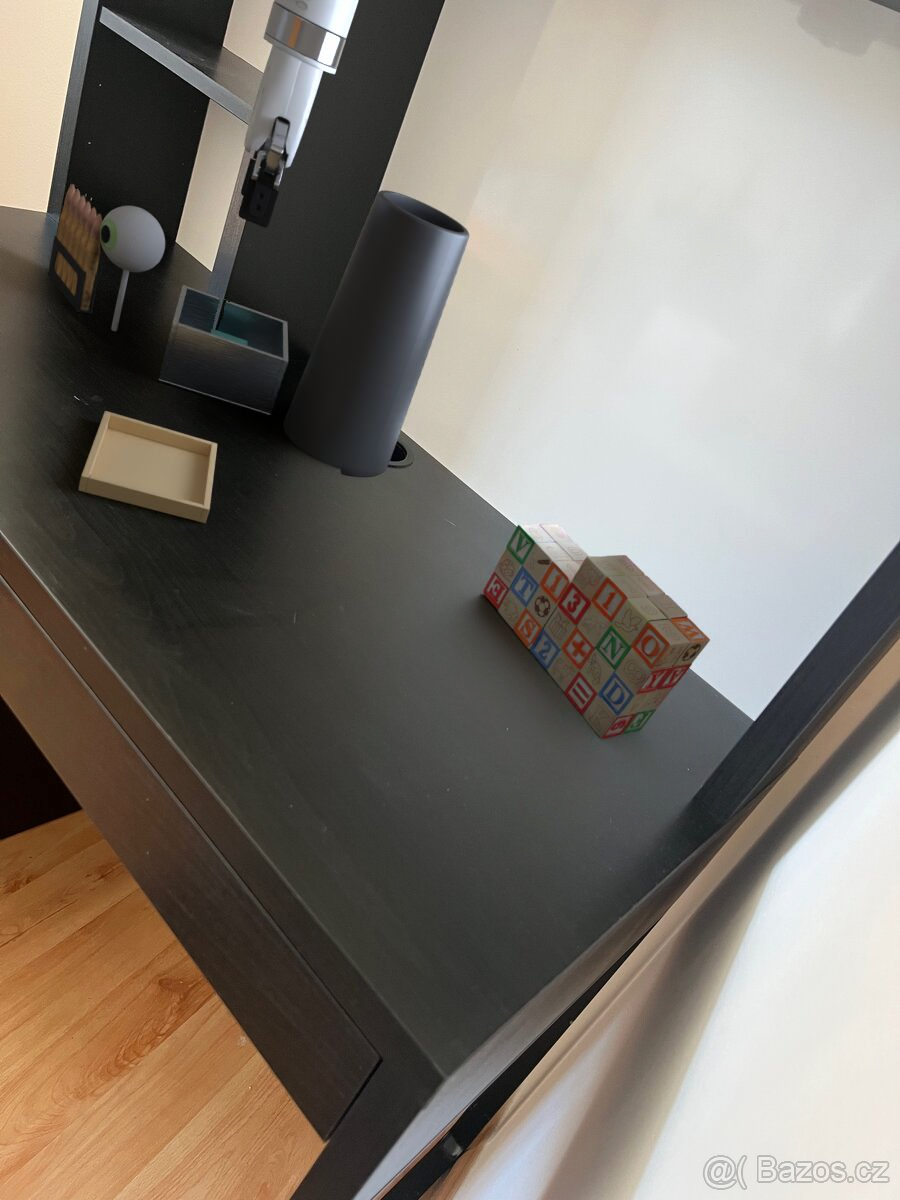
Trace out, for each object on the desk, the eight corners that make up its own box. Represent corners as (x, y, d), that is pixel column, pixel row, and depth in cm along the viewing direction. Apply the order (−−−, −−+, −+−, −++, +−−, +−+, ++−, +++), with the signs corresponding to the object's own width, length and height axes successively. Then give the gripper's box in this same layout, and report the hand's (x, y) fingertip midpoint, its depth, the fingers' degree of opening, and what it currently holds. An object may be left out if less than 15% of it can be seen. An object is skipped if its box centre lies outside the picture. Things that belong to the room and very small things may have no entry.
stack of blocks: (479, 592, 91) (530, 498, 84) (520, 590, 95) (572, 500, 89) (601, 740, 79) (672, 643, 72) (643, 731, 83) (713, 638, 77)
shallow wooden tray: (77, 495, 75) (81, 475, 74) (101, 428, 86) (105, 410, 85) (204, 527, 79) (209, 509, 78) (212, 460, 90) (217, 443, 89)
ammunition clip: (47, 273, 110) (62, 179, 103) (62, 275, 111) (77, 182, 105) (77, 312, 104) (94, 215, 98) (92, 314, 106) (110, 218, 99)
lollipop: (71, 314, 103) (94, 189, 96) (125, 317, 109) (150, 200, 101) (102, 343, 100) (127, 217, 93) (155, 345, 106) (183, 227, 98)
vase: (403, 458, 110) (498, 239, 95) (359, 489, 98) (459, 245, 83) (315, 407, 111) (395, 183, 96) (260, 431, 99) (342, 181, 84)
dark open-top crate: (156, 385, 98) (172, 322, 94) (168, 342, 108) (182, 284, 104) (269, 419, 103) (288, 361, 99) (269, 376, 113) (287, 321, 109)
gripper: (267, 16, 90) (222, 179, 98) (267, 29, 76) (215, 216, 85) (334, 50, 93) (285, 205, 101) (345, 68, 79) (287, 246, 88)
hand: (253, 210), depth 93 cm, fingers open, 9 cm apart
